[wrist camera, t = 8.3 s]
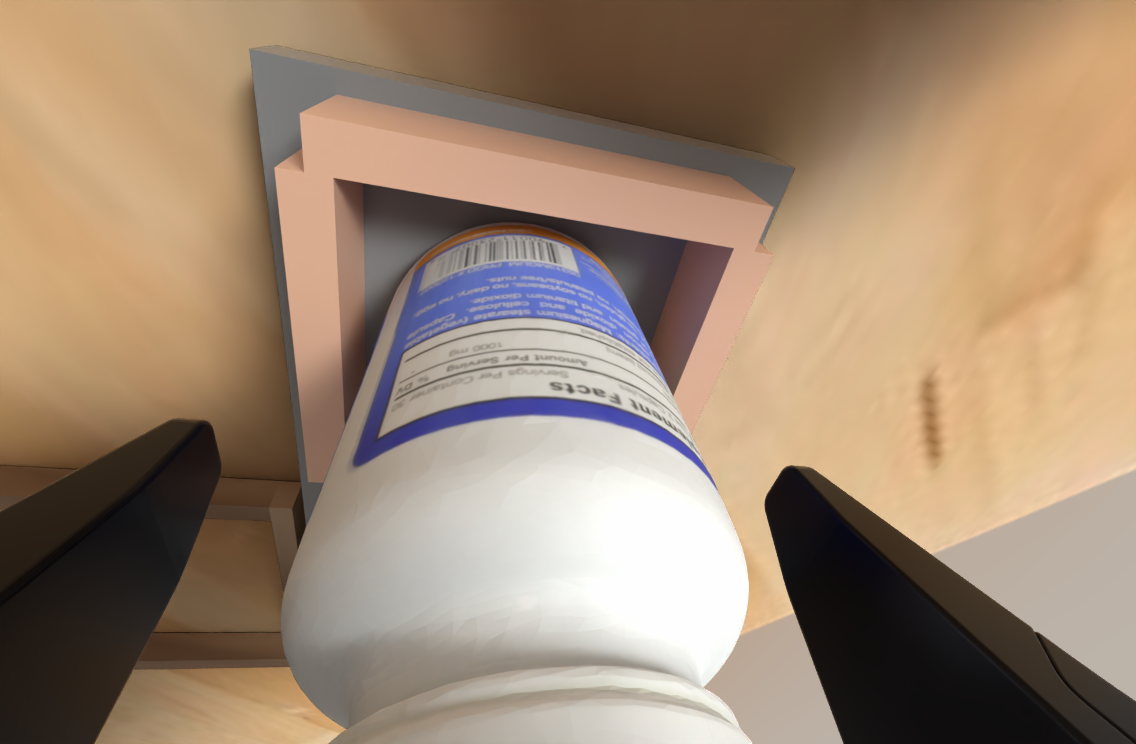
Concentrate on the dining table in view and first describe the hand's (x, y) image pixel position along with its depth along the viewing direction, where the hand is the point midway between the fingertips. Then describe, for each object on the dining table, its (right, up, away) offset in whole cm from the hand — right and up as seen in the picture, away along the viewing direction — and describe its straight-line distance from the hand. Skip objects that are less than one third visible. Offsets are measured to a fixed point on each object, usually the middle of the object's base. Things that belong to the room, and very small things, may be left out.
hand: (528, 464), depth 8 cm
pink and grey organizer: (-2, 0, +7) cm, 7 cm away
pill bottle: (-1, +3, +4) cm, 5 cm away
